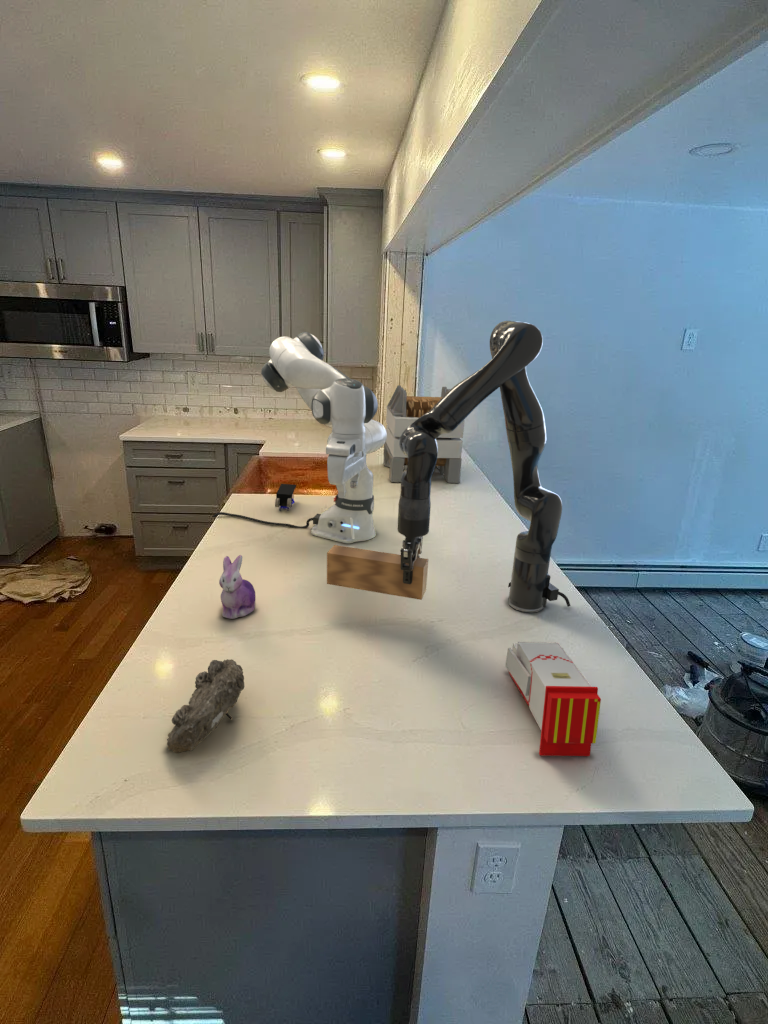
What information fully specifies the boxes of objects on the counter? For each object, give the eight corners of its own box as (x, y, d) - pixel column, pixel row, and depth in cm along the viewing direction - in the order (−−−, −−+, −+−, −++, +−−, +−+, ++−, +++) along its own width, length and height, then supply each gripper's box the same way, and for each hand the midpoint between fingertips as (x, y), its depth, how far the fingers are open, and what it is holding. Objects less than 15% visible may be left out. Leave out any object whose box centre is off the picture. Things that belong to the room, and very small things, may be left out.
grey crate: (382, 463, 289) (386, 382, 275) (445, 464, 293) (451, 384, 279) (390, 482, 257) (394, 392, 243) (460, 483, 261) (468, 394, 247)
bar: (326, 584, 143) (326, 552, 140) (334, 575, 148) (334, 544, 145) (421, 600, 137) (423, 567, 134) (426, 590, 142) (428, 558, 139)
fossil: (192, 660, 117) (244, 628, 112) (224, 691, 120) (276, 661, 115) (142, 746, 98) (202, 712, 93) (182, 779, 101) (242, 748, 96)
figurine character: (292, 516, 215) (297, 499, 228) (291, 498, 212) (296, 482, 225) (274, 516, 215) (280, 499, 228) (273, 498, 211) (279, 482, 225)
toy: (554, 624, 127) (610, 694, 97) (548, 679, 130) (602, 763, 100) (500, 623, 126) (541, 693, 97) (496, 678, 129) (534, 763, 100)
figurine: (224, 623, 139) (221, 568, 134) (215, 604, 148) (212, 552, 142) (262, 616, 143) (260, 562, 138) (251, 598, 152) (249, 546, 147)
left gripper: (350, 434, 160) (350, 481, 164) (322, 449, 141) (323, 501, 146) (372, 436, 158) (371, 483, 163) (346, 451, 140) (346, 504, 144)
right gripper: (423, 525, 126) (418, 593, 132) (435, 505, 139) (431, 568, 145) (390, 521, 128) (387, 588, 134) (406, 502, 141) (402, 564, 147)
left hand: (348, 492), depth 154 cm, fingers open, 8 cm apart
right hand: (410, 577), depth 139 cm, fingers closed on bar, 5 cm apart
